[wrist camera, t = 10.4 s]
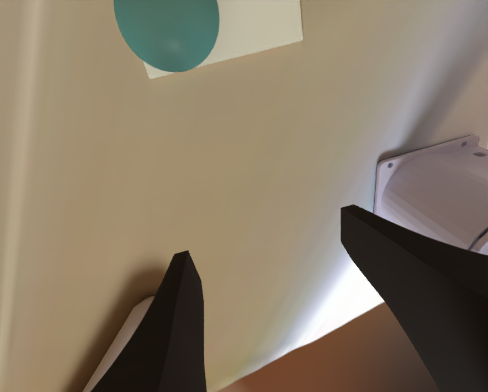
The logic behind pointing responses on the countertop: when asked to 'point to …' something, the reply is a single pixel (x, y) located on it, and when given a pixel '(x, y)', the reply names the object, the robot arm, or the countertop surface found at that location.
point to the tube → (120, 341)
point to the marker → (169, 31)
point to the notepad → (250, 29)
